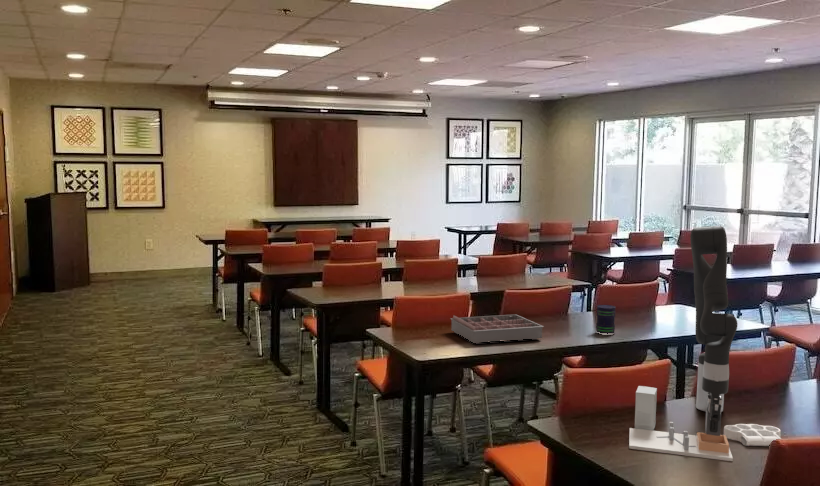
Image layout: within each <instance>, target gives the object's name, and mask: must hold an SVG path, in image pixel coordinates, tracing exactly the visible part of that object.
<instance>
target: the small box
mask: <svg viewBox="0 0 820 486" xmlns="http://www.w3.org/2000/svg"><path fill="white" fill-rule="evenodd" d="M657 392H658V388H657V387H651V386H645V385H638V386H637V389H636V391H635V403H634V404H635V405H634V406H635V407H634V428H635V429H643V430H652V431H655V428H656V421H657V418H656V417H657V416H656V415H657V414H656V412H657V395H658V393H657Z"/></svg>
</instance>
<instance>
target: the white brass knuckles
mask: <svg viewBox="0 0 820 486" xmlns="http://www.w3.org/2000/svg"><path fill="white" fill-rule="evenodd" d="M781 433H782V431H781V429H780V428H778V427H776V426H774V425H773V426H772V425H761V424H757V423H747V424H746V423H736V424H726V425H724V427H723V435H726V437H727V440H733V441H738V442H740V443H741V444H742V445H743V446H746V447H749V446H752V447H770V446H769V444H770V443H771V442H772V441H773V440H776V439H782V438H781V437H782V436H781Z"/></svg>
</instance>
